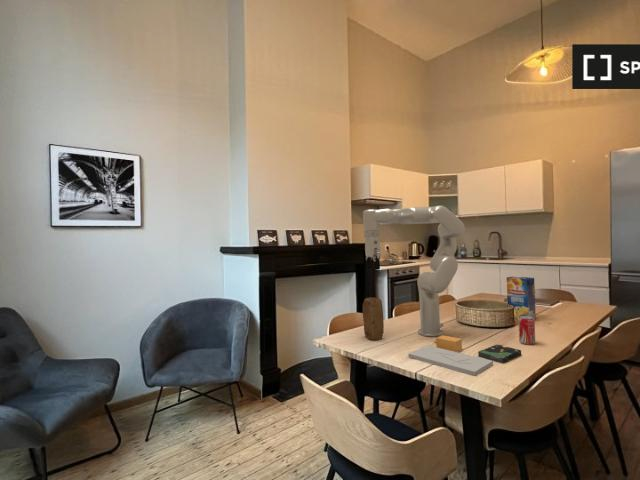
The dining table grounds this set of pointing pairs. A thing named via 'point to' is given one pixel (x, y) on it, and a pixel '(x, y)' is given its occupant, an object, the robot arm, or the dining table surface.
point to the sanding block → (449, 343)
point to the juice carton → (521, 296)
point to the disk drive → (499, 353)
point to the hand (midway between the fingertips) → (373, 268)
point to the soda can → (526, 330)
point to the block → (373, 318)
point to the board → (451, 360)
